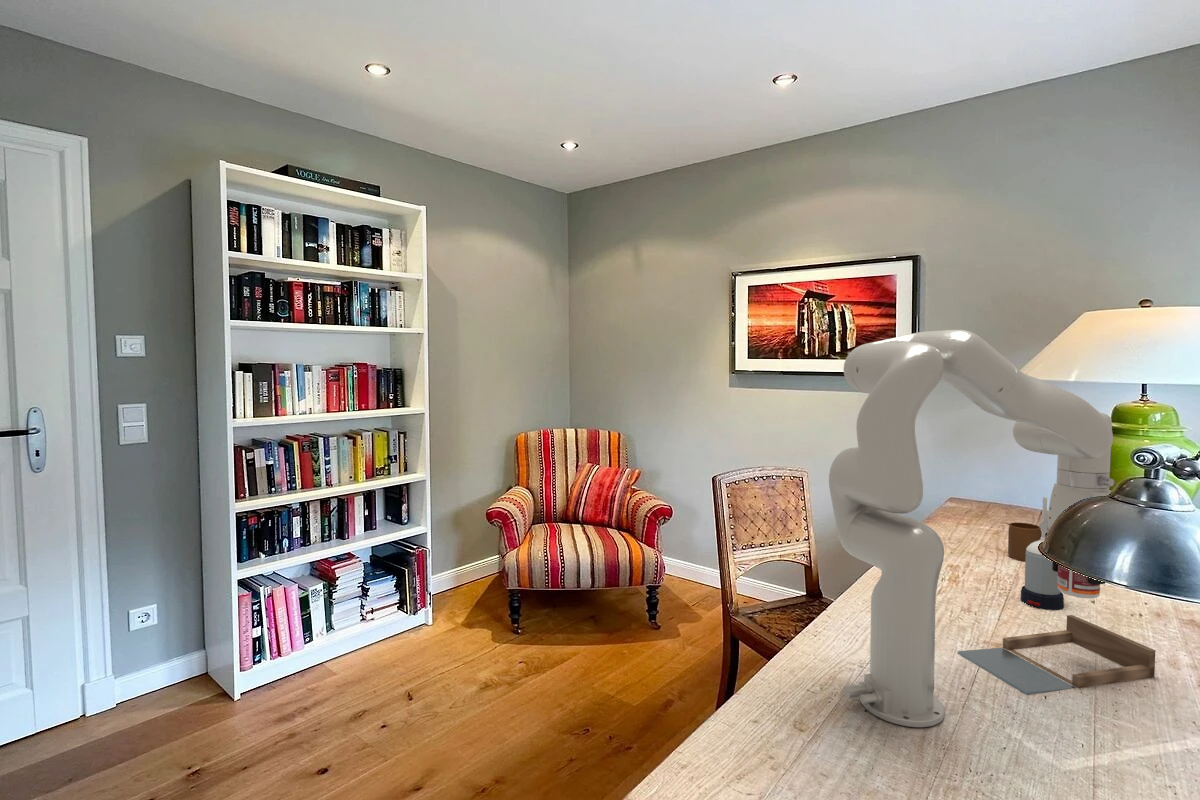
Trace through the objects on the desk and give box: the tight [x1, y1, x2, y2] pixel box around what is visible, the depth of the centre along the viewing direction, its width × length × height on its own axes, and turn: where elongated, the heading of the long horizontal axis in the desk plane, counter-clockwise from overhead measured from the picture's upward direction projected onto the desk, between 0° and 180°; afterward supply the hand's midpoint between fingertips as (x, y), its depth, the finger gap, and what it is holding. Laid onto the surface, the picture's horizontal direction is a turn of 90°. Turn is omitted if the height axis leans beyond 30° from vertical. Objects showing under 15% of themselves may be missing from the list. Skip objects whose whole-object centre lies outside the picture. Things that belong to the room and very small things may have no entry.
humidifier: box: [1020, 496, 1065, 611], centre depth 142 cm, size 8×8×25 cm
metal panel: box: [957, 647, 1077, 696], centre depth 111 cm, size 1×15×10 cm
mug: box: [1007, 521, 1042, 562], centre depth 173 cm, size 12×8×9 cm, turn 54°
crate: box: [1002, 614, 1157, 689], centre depth 114 cm, size 16×15×6 cm
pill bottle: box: [1057, 565, 1101, 600], centre depth 112 cm, size 6×6×11 cm
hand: (1078, 576), depth 113 cm, fingers closed on pill bottle, 6 cm apart
